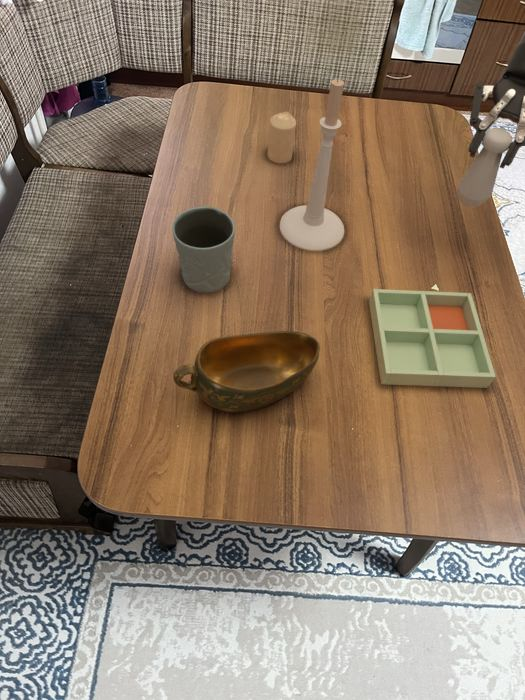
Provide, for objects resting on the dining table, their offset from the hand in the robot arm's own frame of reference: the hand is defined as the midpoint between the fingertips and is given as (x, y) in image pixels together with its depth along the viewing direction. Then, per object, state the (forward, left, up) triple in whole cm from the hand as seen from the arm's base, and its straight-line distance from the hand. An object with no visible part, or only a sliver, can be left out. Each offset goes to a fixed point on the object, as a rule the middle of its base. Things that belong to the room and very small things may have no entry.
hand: (487, 160), depth 85 cm
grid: (+7, +21, -22) cm, 31 cm away
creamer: (+37, +31, -22) cm, 53 cm away
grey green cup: (+45, +8, -22) cm, 51 cm away
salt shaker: (-1, -2, -9) cm, 9 cm away
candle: (+31, -29, -22) cm, 48 cm away
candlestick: (+25, -6, -22) cm, 34 cm away
